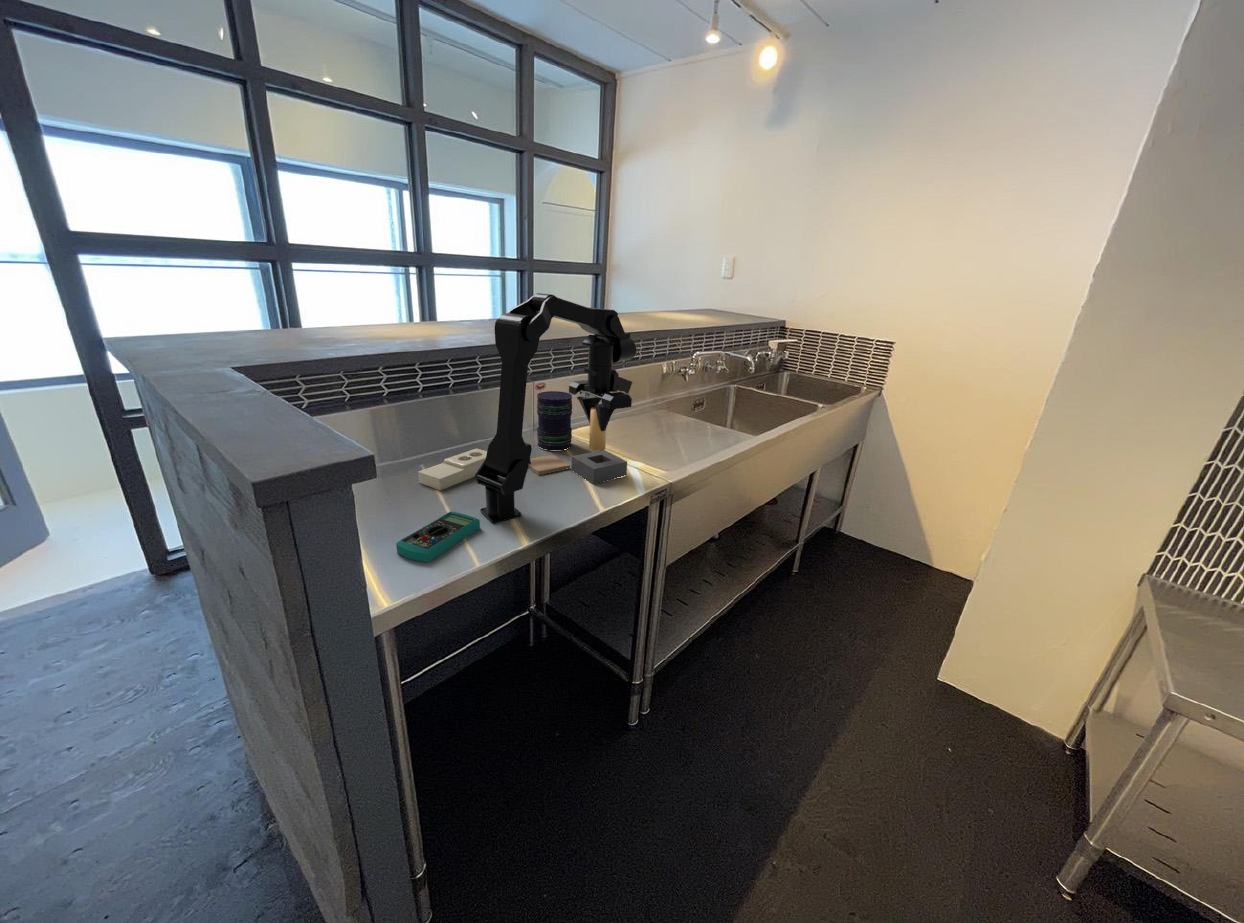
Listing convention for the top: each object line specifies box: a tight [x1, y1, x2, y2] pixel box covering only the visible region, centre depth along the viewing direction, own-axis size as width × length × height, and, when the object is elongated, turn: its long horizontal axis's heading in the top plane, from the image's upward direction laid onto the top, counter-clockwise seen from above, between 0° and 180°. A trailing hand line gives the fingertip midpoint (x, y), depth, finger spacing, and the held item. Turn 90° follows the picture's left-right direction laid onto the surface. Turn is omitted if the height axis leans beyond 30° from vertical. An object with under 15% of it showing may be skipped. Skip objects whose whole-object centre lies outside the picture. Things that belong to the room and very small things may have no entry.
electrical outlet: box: [417, 448, 487, 491], centre depth 122 cm, size 7×4×18 cm
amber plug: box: [588, 407, 607, 452], centre depth 123 cm, size 4×4×10 cm
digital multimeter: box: [395, 511, 481, 563], centre depth 93 cm, size 7×15×3 cm, turn 157°
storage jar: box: [536, 390, 573, 450], centre depth 143 cm, size 10×10×15 cm
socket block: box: [570, 449, 628, 485], centre depth 127 cm, size 10×10×4 cm
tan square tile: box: [528, 454, 571, 476], centre depth 130 cm, size 9×9×1 cm
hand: (597, 428), depth 123 cm, fingers closed on amber plug, 4 cm apart
